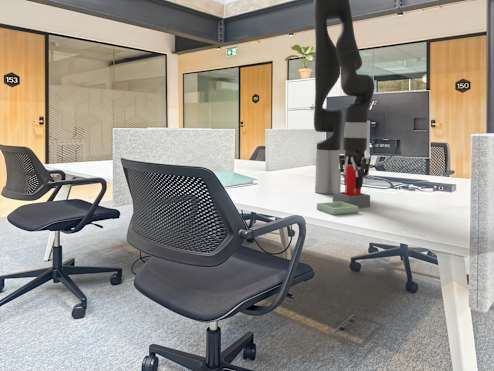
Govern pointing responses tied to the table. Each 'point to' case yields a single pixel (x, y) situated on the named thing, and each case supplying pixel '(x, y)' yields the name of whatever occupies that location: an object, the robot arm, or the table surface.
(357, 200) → the dark grey open box
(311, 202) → the table surface
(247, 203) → the table surface
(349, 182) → the beverage can
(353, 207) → the tray
